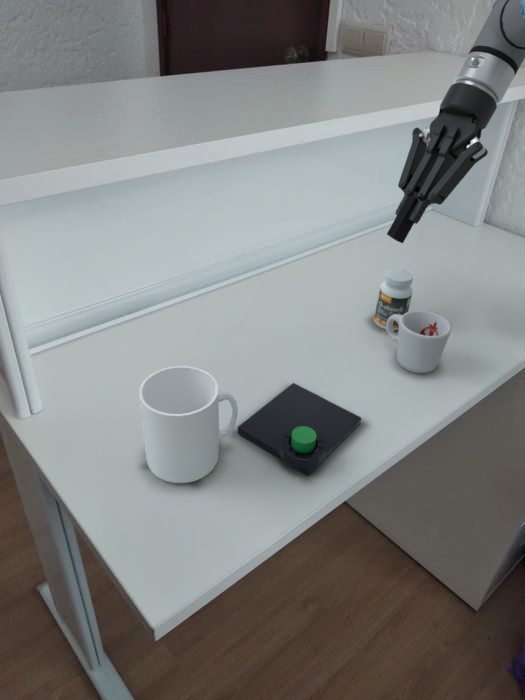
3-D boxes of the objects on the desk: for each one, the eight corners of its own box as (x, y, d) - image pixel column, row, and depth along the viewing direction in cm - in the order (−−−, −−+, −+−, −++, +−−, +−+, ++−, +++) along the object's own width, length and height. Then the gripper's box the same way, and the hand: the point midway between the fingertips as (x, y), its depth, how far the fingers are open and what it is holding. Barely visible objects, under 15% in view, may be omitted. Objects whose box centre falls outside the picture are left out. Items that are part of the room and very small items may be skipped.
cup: (368, 353, 97) (375, 313, 92) (397, 337, 101) (405, 297, 97) (421, 385, 91) (432, 343, 86) (450, 366, 95) (461, 325, 90)
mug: (133, 452, 76) (124, 383, 70) (209, 417, 83) (208, 350, 76) (169, 498, 70) (163, 427, 64) (249, 456, 77) (251, 388, 70)
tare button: (320, 443, 75) (321, 433, 74) (306, 457, 73) (307, 447, 72) (300, 432, 77) (301, 422, 76) (285, 445, 75) (286, 435, 74)
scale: (363, 426, 82) (366, 410, 81) (307, 483, 73) (309, 467, 72) (292, 389, 89) (294, 373, 87) (232, 437, 79) (232, 421, 78)
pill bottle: (371, 328, 104) (380, 279, 98) (376, 312, 108) (384, 264, 102) (403, 334, 102) (414, 285, 97) (406, 318, 107) (417, 270, 101)
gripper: (428, 75, 87) (352, 217, 91) (502, 85, 78) (414, 243, 82) (451, 101, 92) (378, 234, 96) (523, 113, 83) (439, 260, 87)
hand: (394, 238), depth 89 cm, fingers closed
